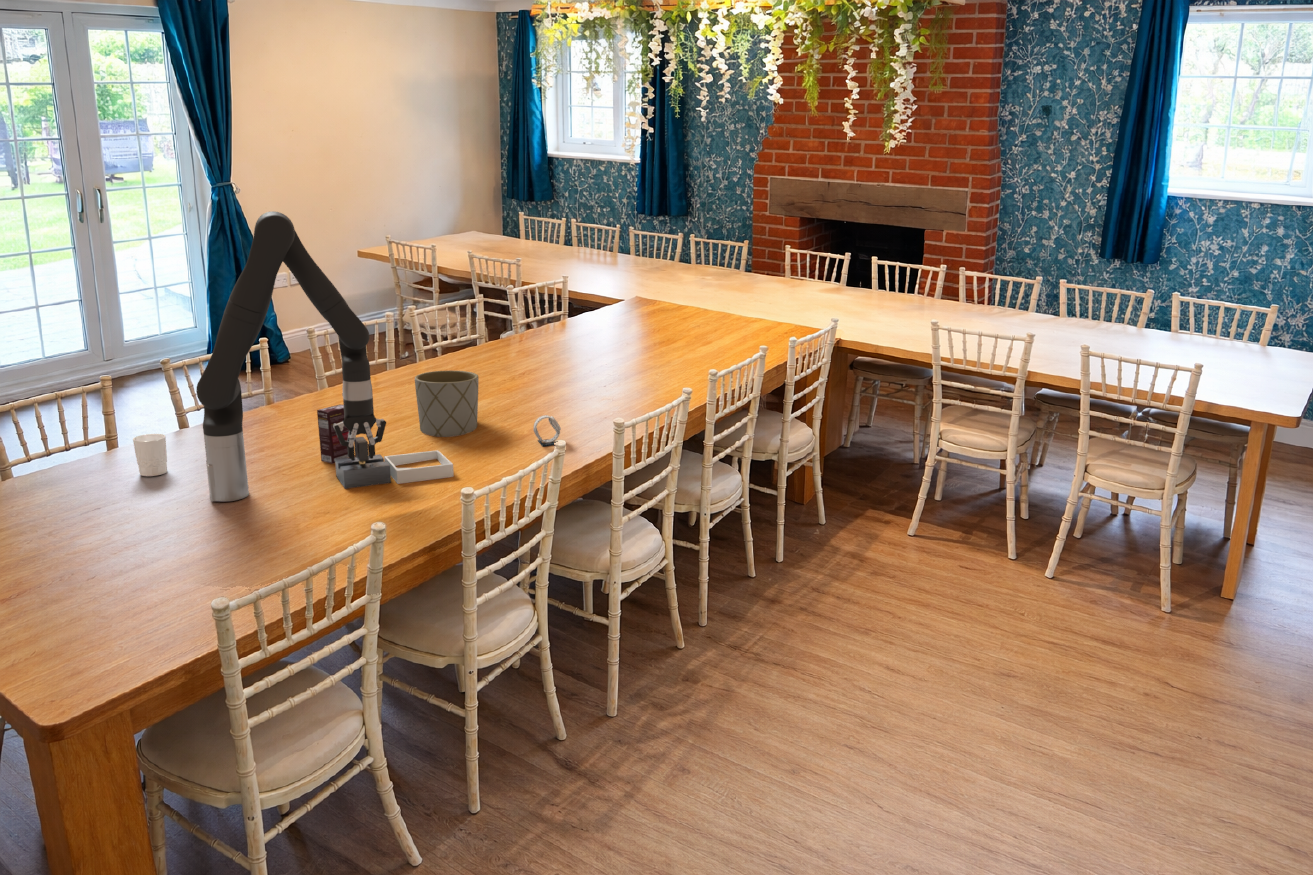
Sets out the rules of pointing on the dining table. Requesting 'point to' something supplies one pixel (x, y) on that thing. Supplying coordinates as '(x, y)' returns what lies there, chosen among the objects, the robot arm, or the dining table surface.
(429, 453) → the key tray
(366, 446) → the t key
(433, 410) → the planter
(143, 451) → the white cup
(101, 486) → the dining table surface
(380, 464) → the plate
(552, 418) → the watch
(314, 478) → the dining table surface
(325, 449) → the supplement box
